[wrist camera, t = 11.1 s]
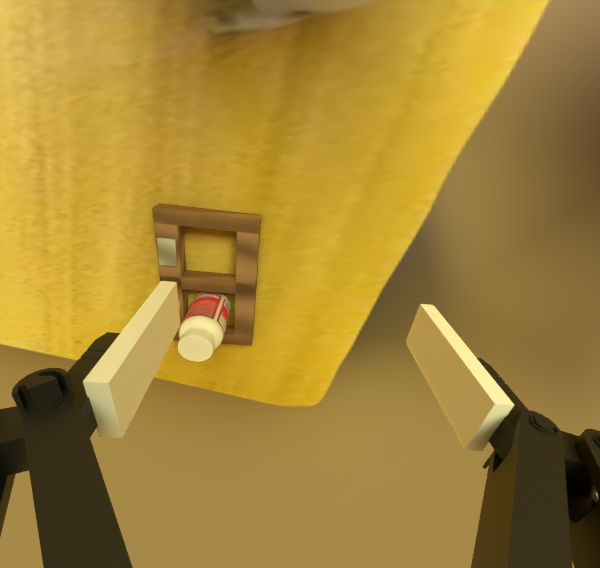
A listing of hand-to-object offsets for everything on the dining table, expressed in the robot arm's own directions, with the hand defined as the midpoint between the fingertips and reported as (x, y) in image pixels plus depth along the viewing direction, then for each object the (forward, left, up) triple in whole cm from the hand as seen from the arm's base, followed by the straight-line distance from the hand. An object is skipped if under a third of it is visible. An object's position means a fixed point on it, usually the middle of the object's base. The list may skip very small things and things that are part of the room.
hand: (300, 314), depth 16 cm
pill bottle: (+19, -11, -29) cm, 36 cm away
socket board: (+14, -11, -29) cm, 34 cm away
